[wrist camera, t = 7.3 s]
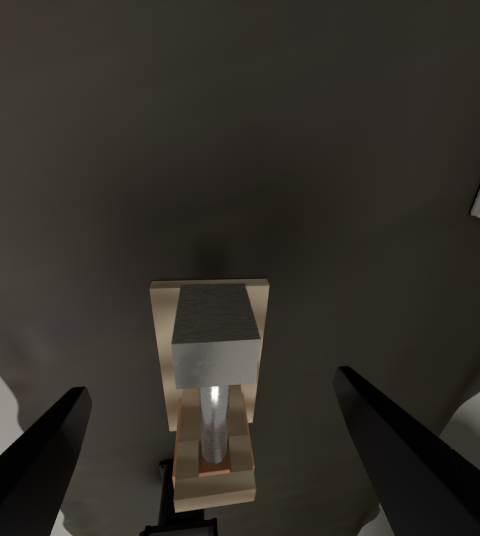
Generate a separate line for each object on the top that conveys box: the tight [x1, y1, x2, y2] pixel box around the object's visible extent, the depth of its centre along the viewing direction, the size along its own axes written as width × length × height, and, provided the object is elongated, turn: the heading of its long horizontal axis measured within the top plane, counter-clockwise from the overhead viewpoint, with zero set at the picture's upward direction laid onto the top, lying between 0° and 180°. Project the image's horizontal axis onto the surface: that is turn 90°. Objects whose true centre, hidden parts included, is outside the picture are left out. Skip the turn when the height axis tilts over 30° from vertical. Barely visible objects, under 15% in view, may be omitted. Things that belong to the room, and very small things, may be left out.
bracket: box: [149, 279, 270, 513], centre depth 21 cm, size 20×10×10 cm, turn 177°
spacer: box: [172, 393, 255, 488], centre depth 24 cm, size 2×7×7 cm, turn 87°
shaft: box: [171, 283, 261, 464], centre depth 16 cm, size 14×4×5 cm, turn 177°
